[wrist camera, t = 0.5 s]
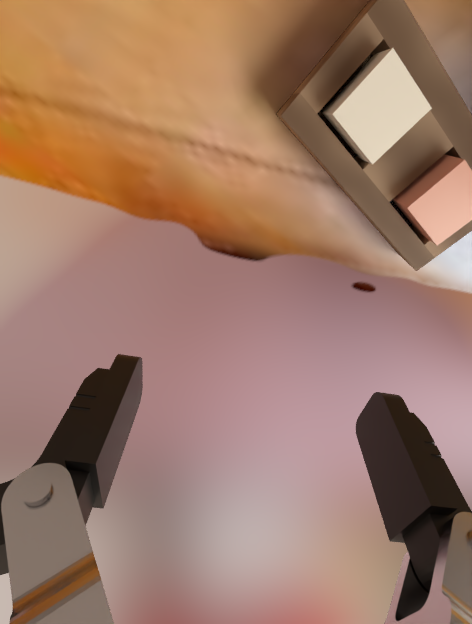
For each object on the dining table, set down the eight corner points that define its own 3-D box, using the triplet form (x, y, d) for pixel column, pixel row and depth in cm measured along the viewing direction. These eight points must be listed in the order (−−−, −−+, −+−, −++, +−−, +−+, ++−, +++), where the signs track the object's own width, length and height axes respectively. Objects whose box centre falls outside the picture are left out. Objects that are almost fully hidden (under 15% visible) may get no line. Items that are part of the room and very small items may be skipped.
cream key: (374, 54, 24) (393, 47, 21) (410, 107, 25) (431, 108, 23) (322, 112, 26) (332, 114, 23) (358, 157, 28) (372, 164, 25)
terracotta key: (440, 153, 27) (464, 159, 24) (468, 193, 29) (493, 203, 26) (390, 197, 29) (407, 207, 26) (418, 232, 31) (437, 245, 28)
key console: (371, -2, 24) (393, -19, 20) (489, 185, 31) (519, 195, 28) (275, 114, 28) (280, 116, 25) (399, 255, 35) (416, 271, 32)
